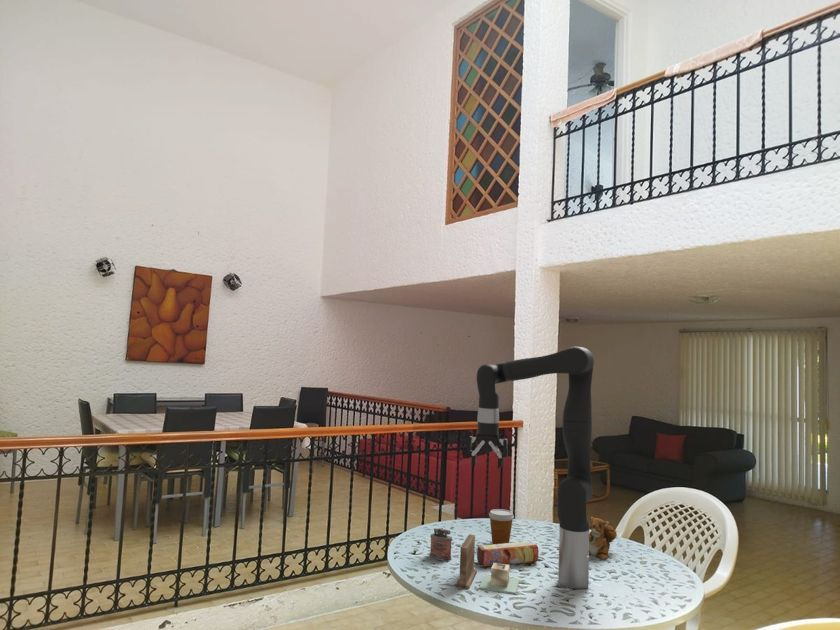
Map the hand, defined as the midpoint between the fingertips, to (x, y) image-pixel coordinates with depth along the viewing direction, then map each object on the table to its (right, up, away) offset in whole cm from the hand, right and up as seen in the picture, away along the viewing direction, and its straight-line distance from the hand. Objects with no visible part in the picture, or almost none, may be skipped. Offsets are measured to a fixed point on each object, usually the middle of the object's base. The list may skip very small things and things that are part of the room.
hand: (486, 467), depth 197 cm
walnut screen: (-9, -30, -19) cm, 37 cm away
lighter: (-16, -32, 0) cm, 36 cm away
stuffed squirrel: (+43, -35, +11) cm, 57 cm away
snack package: (+7, -33, -2) cm, 34 cm away
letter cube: (+2, -30, -22) cm, 37 cm away
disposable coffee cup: (+7, -34, +17) cm, 39 cm away
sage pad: (+1, -31, -22) cm, 38 cm away
